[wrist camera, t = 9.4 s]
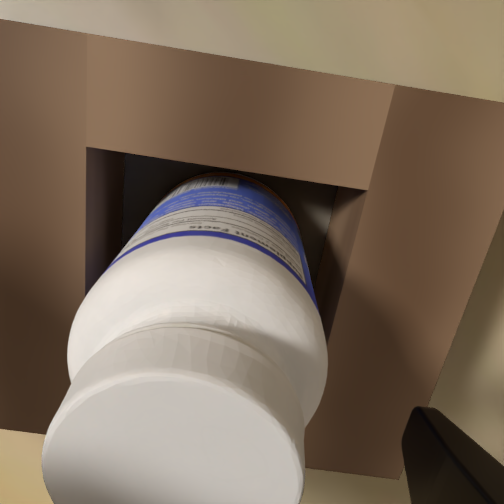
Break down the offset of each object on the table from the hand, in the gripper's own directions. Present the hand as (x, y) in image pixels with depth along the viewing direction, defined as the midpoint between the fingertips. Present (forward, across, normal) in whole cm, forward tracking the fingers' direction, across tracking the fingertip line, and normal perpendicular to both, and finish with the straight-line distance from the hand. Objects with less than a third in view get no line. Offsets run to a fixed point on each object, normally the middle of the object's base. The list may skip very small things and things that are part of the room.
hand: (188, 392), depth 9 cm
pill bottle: (+8, 0, 0) cm, 8 cm away
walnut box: (+7, 0, 0) cm, 7 cm away
